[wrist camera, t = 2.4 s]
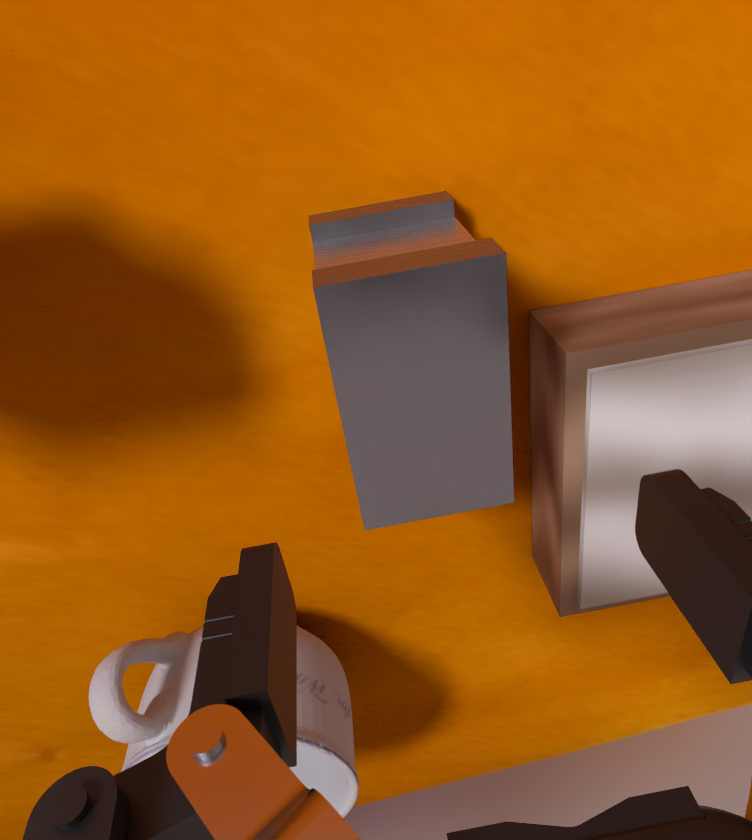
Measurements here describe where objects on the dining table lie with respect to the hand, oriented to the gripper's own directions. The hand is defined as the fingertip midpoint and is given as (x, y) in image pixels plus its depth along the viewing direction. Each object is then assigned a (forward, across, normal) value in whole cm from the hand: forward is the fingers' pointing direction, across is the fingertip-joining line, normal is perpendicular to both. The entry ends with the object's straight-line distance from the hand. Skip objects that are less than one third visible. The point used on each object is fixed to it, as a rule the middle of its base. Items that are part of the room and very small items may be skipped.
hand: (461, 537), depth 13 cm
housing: (+13, 0, 0) cm, 13 cm away
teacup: (+13, +11, +17) cm, 24 cm away
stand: (+13, -11, +8) cm, 19 cm away
